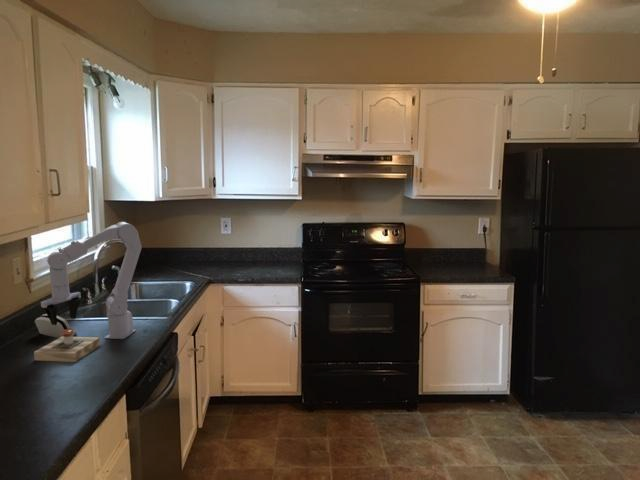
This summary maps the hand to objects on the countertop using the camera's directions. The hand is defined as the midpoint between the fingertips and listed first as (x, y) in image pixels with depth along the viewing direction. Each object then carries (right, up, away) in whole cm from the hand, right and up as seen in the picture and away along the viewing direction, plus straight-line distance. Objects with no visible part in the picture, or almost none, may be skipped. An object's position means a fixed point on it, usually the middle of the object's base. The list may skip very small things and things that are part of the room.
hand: (63, 321), depth 180 cm
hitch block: (+4, -10, -5) cm, 12 cm away
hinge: (-10, -8, +13) cm, 18 cm away
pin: (+5, -10, -5) cm, 12 cm away
